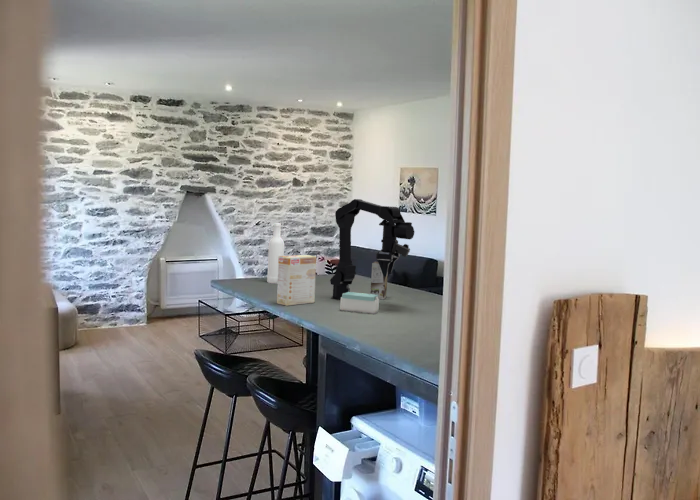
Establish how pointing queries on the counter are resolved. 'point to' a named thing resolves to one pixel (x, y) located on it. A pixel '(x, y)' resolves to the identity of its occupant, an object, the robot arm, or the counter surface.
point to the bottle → (274, 254)
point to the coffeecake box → (296, 279)
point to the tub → (360, 305)
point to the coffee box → (378, 281)
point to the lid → (359, 296)
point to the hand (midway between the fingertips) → (387, 275)
